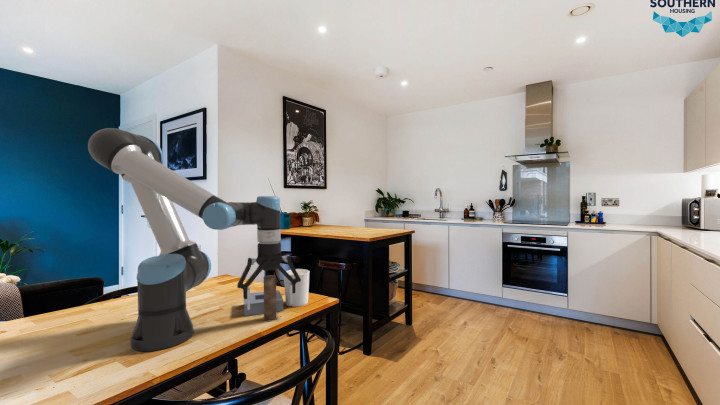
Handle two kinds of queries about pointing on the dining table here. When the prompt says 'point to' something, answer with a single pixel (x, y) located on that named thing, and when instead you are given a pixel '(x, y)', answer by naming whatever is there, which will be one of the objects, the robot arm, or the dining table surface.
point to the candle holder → (298, 288)
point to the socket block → (261, 303)
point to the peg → (269, 297)
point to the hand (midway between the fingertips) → (270, 305)
